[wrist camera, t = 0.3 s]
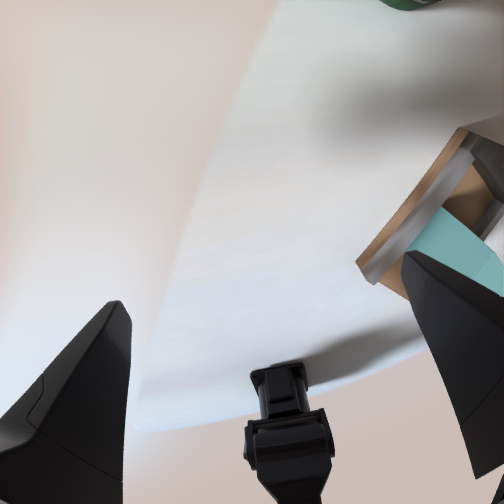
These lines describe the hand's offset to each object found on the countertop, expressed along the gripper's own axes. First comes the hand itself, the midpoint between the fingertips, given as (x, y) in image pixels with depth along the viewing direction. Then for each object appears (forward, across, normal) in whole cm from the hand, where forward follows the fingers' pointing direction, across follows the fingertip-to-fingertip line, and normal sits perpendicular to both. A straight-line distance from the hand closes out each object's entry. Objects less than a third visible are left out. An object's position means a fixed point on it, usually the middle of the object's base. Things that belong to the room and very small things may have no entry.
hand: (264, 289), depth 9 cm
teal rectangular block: (+13, -16, +10) cm, 23 cm away
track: (+14, -17, +9) cm, 24 cm away
